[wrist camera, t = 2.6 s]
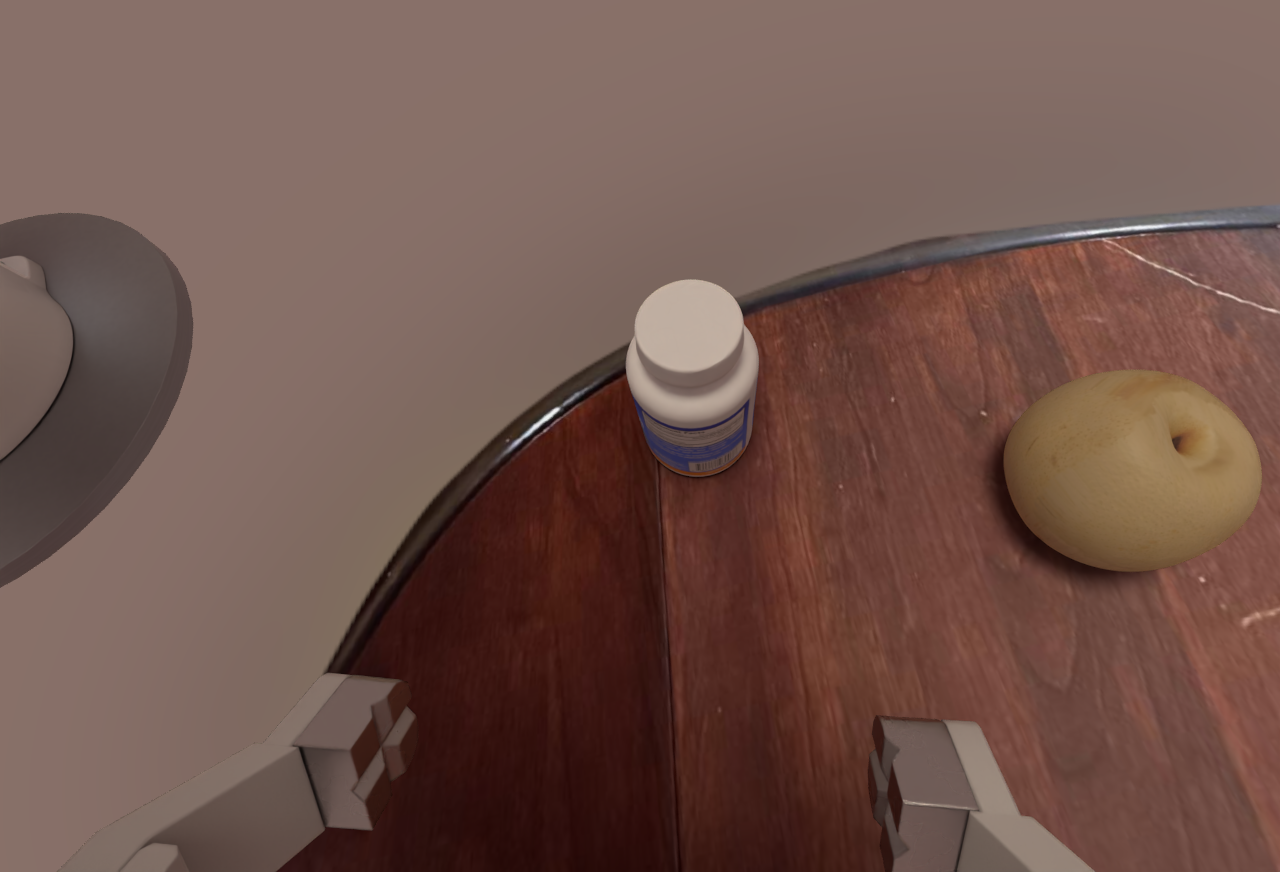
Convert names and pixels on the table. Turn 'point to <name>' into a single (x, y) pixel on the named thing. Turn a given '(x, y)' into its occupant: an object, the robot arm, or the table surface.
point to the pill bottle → (693, 377)
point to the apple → (1132, 470)
